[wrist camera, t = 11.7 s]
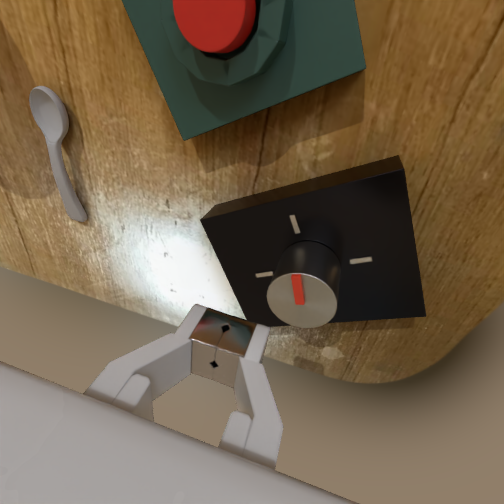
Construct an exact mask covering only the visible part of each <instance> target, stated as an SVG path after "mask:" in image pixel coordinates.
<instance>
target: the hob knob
mask: <svg viewBox="0 0 504 504" xmlns="http://www.w3.org/2000/svg"><path fill="white" fill-rule="evenodd" d="M340 272H341V267H340V262H339V260H338V258H337V256H336V255H335V254H334V252H333V251H332V250H330V249H329V248H328V247H326V246H324V245H322V244H320V243H316V242H311V241H304V242H298V243H295V244H293V245H291V246H290V247H288V248H287V249H286V250H285V251H284V252H283V254H282V256H281V258H280V261H279V263H278V266H277V268H276V271H275V273H274V275H273V278H272V280H271V283H270V285H269V288H268V291H267V301H268V304H269V307H270V309H271V310H272V312H273V313H274V314H275V315H276V316H277V317H278V318H279V319H281V320H282V321H284V322H285V323H287V324H290V325H292V326H295V327H300V328H315V327H319V326H322V325H324V324H326V323H327V322H329V321H330V320H331V319H332V318H333V317H334V315H335V313H336V310H337V304H338V293H339V283H340Z"/></svg>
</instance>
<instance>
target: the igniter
mask: <svg viewBox="0 0 504 504" xmlns="http://www.w3.org/2000/svg"><path fill="white" fill-rule="evenodd" d="M122 2H123V4H124V7H125V9H126V11H127V13H128V16H129V18H130V20H131V23H132V25H133V27H134V29H135V32H136V34H137V36H138V38H139V41H140V43H141V45H142V47H143V50H144V52H145V54H146V57H147V59H148V61H149V63H150V66H151V68H152V70H153V72H154V75H155V77H156V79H157V82H158V84H159V86H160V88H161V91H162V93H163V95H164V97H165V100H166V102H167V104H168V106H169V109H170V111H171V113H172V116H173V118H174V120H175V122H176V125H177V127H178V129H179V131H180V134H181V136H182V138H183V140H184V141H185V140H188V139H190V138H193V137H195V136H198V135H200V134H203V133H205V132H208V131H210V130H213V129H215V128H218V127H220V126H223V125H225V124H228V123H231V122H233V121H236V120H238V119H241V118H243V117H246V116H248V115H251V114H253V113H256V112H258V111H261V110H263V109H266V108H268V107H271V106H273V105H276V104H278V103H281V102H283V101H286V100H288V99H291V98H294V97H296V96H299V95H301V94H304V93H306V92H309V91H311V90H314V89H316V88H319V87H321V86H324V85H326V84H329V83H331V82H334V81H336V80H339V79H341V78H344V77H346V76H349V75H351V74H354V73H356V72H359V71H362V70H364V69H366V64H365V59H364V53H363V47H362V42H361V36H360V30H359V25H358V19H357V14H356V8H355V2H354V0H255V2H256V14H255V21H254V25H253V28H252V31H251V33H250V35H249V37H248V38H247V40H246V41H245V42H244V43H243V44H242V45H241V46H240V47H239V48H238V49H236V50H234V51H232V52H228V53H210V52H204V51H201V50H199V49H197V48H195V47H194V46H192V45H191V44H190V43H189V42H188V41H187V40H186V39H185V37H184V36H183V34H182V33H181V31H180V29H179V27H178V24H177V22H176V19H175V15H174V9H173V0H122Z"/></svg>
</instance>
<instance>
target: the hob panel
mask: <svg viewBox="0 0 504 504" xmlns="http://www.w3.org/2000/svg"><path fill="white" fill-rule="evenodd" d="M200 221H201V223H202V225H203V227H204V230H205V232H206V234H207V236H208V238H209V240H210V242H211V244H212V247H213V249H214V251H215V253H216V255H217V257H218V259H219V262H220V264H221V266H222V268H223V270H224V272H225V274H226V277H227V279H228V281H229V283H230V285H231V287H232V289H233V291H234V294H235V296H236V298H237V300H238V302H239V304H240V306H241V309H242V311H243V313H244V315H245V317H246V319H247V320H248V321H251V322H255V323H257V324H261V325H264V326H267V327H275V326H290V324H287V323H285V322H284V321H282V320H281V319H279V318H278V317H277V316H276V315H275V314H274V313H273V312H272V310H271V309H270V307H269V304H268V301H267V291H268V288H269V285H270V283H271V280H272V278H273V275H274V273H275V271H276V268H277V266H278V263H279V261H280V258H281V256H282V254H283V252H284V251H285V250H286V249H287V248H288V247H290V246H291V245H293V244H295V243H298V242H304V241H311V242H316V243H320V244H322V245H324V246H326V247H328V248H329V249H330V250H332V251H333V252H334V254H335V255H336V256H337V258H338V260H339V262H340V267H341V272H340V283H339V293H338V304H337V310H336V313H335V315H334V317H333V318H332V319H331V320H330V321H329V322H327V323H335V322H350V321H366V320H381V319H396V318H411V317H426V311H425V304H424V298H423V291H422V284H421V278H420V271H419V264H418V258H417V251H416V244H415V238H414V231H413V224H412V217H411V211H410V204H409V197H408V191H407V184H406V177H405V171H404V167H403V165H402V162H401V160H400V157H399V155H397V156H394V157H390V158H386V159H383V160H379V161H375V162H372V163H368V164H364V165H361V166H357V167H353V168H350V169H346V170H342V171H339V172H335V173H331V174H327V175H324V176H320V177H316V178H313V179H309V180H305V181H302V182H298V183H294V184H291V185H287V186H283V187H280V188H276V189H272V190H269V191H265V192H261V193H258V194H254V195H250V196H246V197H243V198H239V199H235V200H232V201H228V202H224V203H221V204H217V205H215V206H214V207H213V208H212V209H211V210H210V211H209V212H208V213H207V214H206V215H205V216H204V217H203V218H202V219H201V220H200Z"/></svg>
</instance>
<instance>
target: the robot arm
mask: <svg viewBox="0 0 504 504" xmlns="http://www.w3.org/2000/svg"><path fill="white" fill-rule="evenodd" d="M270 329H271V328H270V327H267V326H264V325H261V324H257V323H255V322H251V321H248V320H245V319H242V318H238V317H235V316H231V315H228V314H225V313H222V312H219V311H217V310H214V309H211V308H207V307H204V306H201V305H199V304H195V305H194V306H193V307H192V308H191V310H190V311H189V313H188V314H187V316H186V317H185V319H184V320H183V322H182V323H181V325H180V326H179V328H178V329H177V331H176V332H175V333H174V334H173V333H169V334H167V335H165V336H163V337H161V338H159V339H157V340H155V341H152V342H150V343H148V344H146V345H144V346H142V347H140V348H138V349H136V350H133V351H132V352H129V353H127V354H125V355H123V356H121V357H119V358H117V359H115V360H113V361H110V362H109V363H108V365H107V366H106V367H105V368H104V369H103V371H102V372H101V373H100V374H99V375H98V377H97V378H96V379H95V380H94V382H93V383H92V384H91V385H90V386H89V388H88V389H87V390H86V391H85V392H84V393H83V394H82V393H79V392H77V391H74V390H72V389H69V388H67V387H64V386H61V385H59V384H57V383H54V382H51V381H49V380H47V379H44V378H42V377H39V376H36V375H34V374H31V373H29V372H26V371H24V370H21V369H19V368H16V367H14V366H11V365H9V364H6V363H4V362H1V361H0V504H359V503H356V502H353V501H351V500H348V499H346V498H343V497H341V496H338V495H336V494H333V493H331V492H328V491H326V490H323V489H321V488H318V487H316V486H313V485H311V484H308V483H306V482H303V481H301V480H298V479H296V478H293V477H290V476H288V475H286V474H283V473H280V472H277V471H275V466H276V461H277V456H278V451H279V446H280V442H281V437H282V432H283V424H282V421H281V418H280V415H279V412H278V409H277V405H276V402H275V399H274V397H273V393H272V391H271V387H270V384H269V381H268V378H267V375H266V372H265V369H264V366H263V364H262V360H263V357H264V353H265V349H266V345H267V341H268V337H269V333H270ZM191 373H193V374H196V375H200V376H202V377H205V378H208V379H211V380H214V381H217V382H219V383H222V384H224V385H227V386H229V387H232V388H234V393H235V399H236V405H237V410H236V411H234V412H232V413H231V415H230V418H229V420H228V423H227V425H226V428H225V431H224V433H223V436H222V439H221V441H220V444H219V446H218V447H215V446H213V445H210V444H208V443H205V442H203V441H200V440H198V439H195V438H193V437H190V436H187V435H185V434H183V433H180V432H178V431H175V430H172V429H170V428H167V427H165V426H162V425H160V424H157V423H155V422H154V417H153V407H152V401H153V400H155V399H156V398H158V397H159V396H161V395H162V394H163V393H165V392H166V391H168V390H169V389H170V388H172V387H173V386H175V385H176V384H177V383H179V382H180V381H182V380H183V379H184V378H186V377H187V376H189V375H190V374H191Z"/></svg>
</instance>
